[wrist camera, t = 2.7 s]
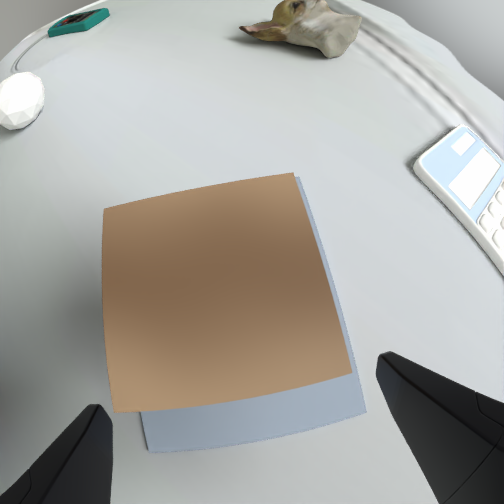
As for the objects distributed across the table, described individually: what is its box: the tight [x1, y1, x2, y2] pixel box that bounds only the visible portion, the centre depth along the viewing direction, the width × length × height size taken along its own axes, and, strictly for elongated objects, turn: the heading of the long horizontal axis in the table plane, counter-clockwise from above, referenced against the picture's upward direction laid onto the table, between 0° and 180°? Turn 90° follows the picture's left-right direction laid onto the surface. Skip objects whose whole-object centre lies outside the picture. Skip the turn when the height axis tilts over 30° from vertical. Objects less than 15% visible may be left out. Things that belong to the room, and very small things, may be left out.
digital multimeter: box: [48, 8, 110, 37], centre depth 43 cm, size 8×15×3 cm, turn 68°
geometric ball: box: [0, 72, 45, 130], centre depth 26 cm, size 8×8×8 cm
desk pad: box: [141, 177, 367, 453], centre depth 20 cm, size 18×14×1 cm
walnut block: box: [102, 173, 353, 413], centre depth 12 cm, size 5×5×13 cm
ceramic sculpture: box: [239, 0, 361, 58], centre depth 31 cm, size 11×9×15 cm
